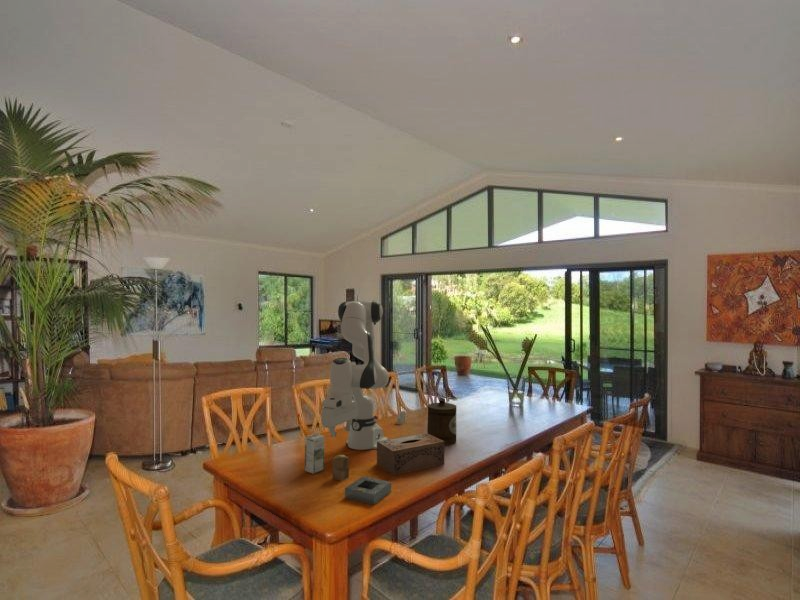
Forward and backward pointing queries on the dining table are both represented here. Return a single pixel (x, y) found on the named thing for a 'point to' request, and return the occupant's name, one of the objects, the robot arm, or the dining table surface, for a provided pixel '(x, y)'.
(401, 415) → the architectural model
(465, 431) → the dining table surface
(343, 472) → the brown block with knob
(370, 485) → the grey square socket base
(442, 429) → the wooden container
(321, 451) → the syrup box
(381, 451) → the tissue box cover
